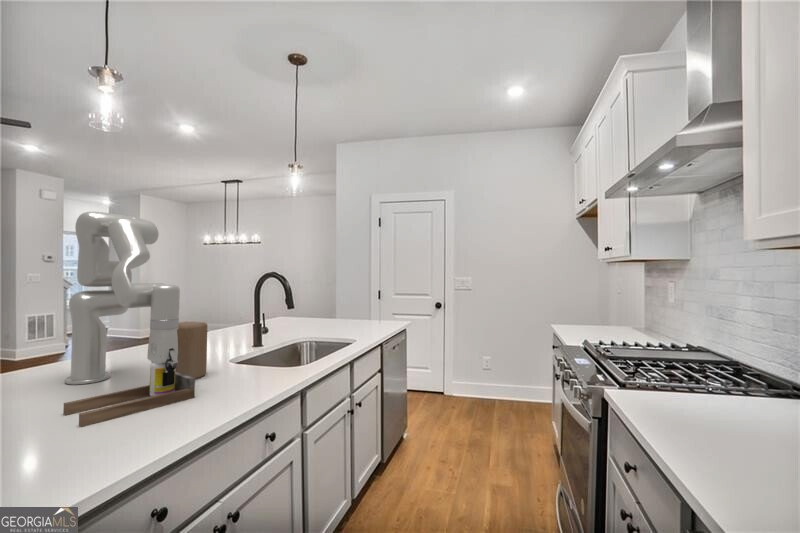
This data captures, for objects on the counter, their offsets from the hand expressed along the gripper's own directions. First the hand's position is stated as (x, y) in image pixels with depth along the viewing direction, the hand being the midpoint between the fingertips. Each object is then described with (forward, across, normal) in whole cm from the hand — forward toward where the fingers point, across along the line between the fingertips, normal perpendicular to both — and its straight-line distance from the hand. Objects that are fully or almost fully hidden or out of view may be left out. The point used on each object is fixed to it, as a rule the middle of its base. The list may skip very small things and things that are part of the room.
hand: (162, 382), depth 117 cm
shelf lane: (+5, 0, -8) cm, 9 cm away
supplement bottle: (+4, 0, 0) cm, 4 cm away
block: (+5, -16, +15) cm, 23 cm away
